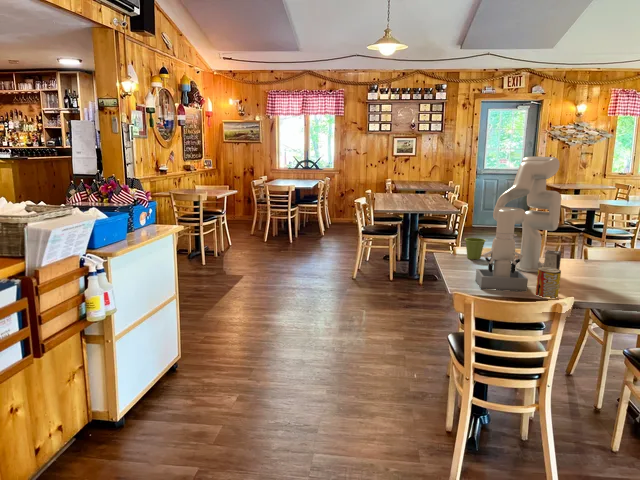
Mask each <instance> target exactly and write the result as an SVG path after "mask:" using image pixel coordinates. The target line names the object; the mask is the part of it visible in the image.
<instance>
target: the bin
mask: <svg viewBox="0 0 640 480" xmlns="http://www.w3.org/2000/svg"><path fill="white" fill-rule="evenodd" d="M475 270H476V271H475V282H476V284H477V285H479V286H478V287H479V289H480V288H481V289H480V290H483V289H496V290H495V291H503V290H510V291H509V292H522V291H527V290H528V283H529V278H527V276H526V275H524V274H523V273H522V271H521V270H515V271H514V273H512V272H511V270H510V278H509V277H493V269H492V272H490V271H489V270H488V268H476V269H475Z"/></svg>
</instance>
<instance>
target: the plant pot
mask: <svg viewBox="0 0 640 480" xmlns="http://www.w3.org/2000/svg"><path fill="white" fill-rule="evenodd" d="M463 240H464V241H465V247H466V257H467V259H469V260H473V261H474V260H477V261H478V260H481V257H482V253H483V250H484V245H485V242H486V241H487V240H486V239H485V238H480V237H479V238H478V237H465V238H464V239H463Z"/></svg>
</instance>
